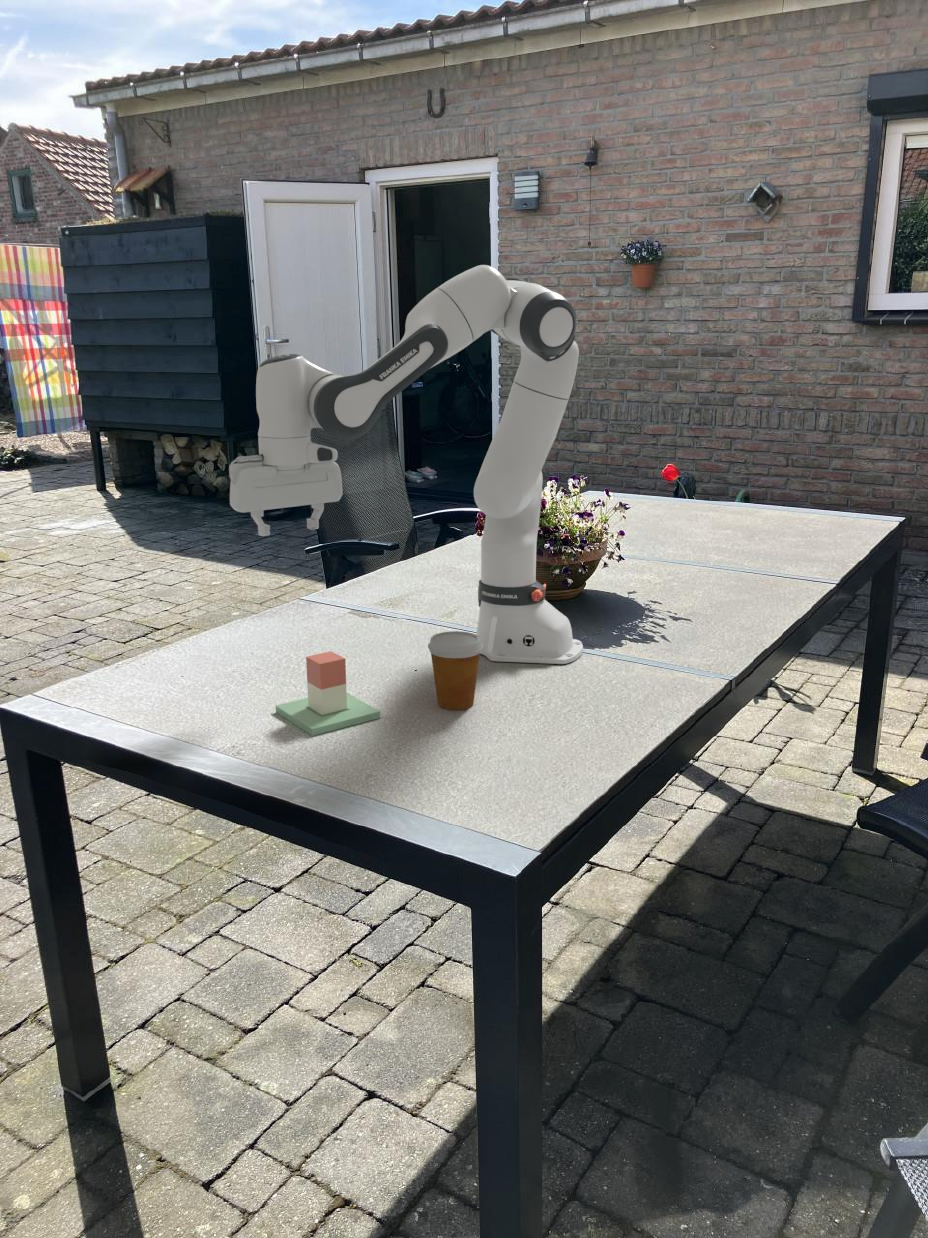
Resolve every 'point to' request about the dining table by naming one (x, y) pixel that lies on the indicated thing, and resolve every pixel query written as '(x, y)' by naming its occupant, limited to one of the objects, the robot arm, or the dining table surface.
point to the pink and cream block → (326, 682)
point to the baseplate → (327, 715)
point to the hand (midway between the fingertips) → (289, 532)
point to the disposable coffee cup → (455, 667)
